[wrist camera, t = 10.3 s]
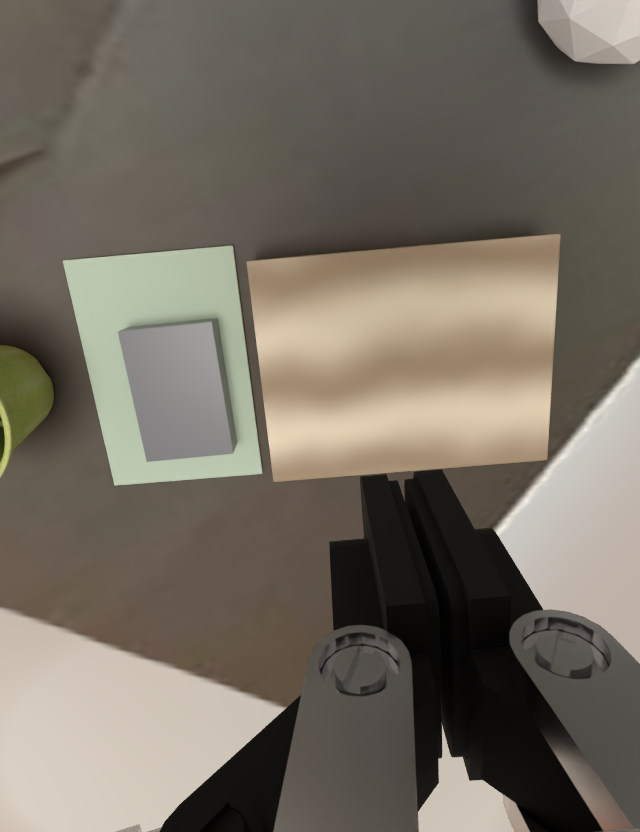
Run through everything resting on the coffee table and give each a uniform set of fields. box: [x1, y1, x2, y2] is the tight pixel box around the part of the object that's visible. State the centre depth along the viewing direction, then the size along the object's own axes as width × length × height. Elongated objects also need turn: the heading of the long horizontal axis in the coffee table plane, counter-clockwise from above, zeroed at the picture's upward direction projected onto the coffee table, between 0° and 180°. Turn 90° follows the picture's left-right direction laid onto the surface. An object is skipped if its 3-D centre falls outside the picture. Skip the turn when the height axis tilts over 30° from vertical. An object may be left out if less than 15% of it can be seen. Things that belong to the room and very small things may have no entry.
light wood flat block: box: [247, 234, 560, 482], centre depth 33 cm, size 14×18×4 cm
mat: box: [63, 246, 263, 485], centre depth 35 cm, size 16×11×1 cm
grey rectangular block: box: [118, 318, 237, 462], centre depth 35 cm, size 9×6×2 cm, turn 6°
